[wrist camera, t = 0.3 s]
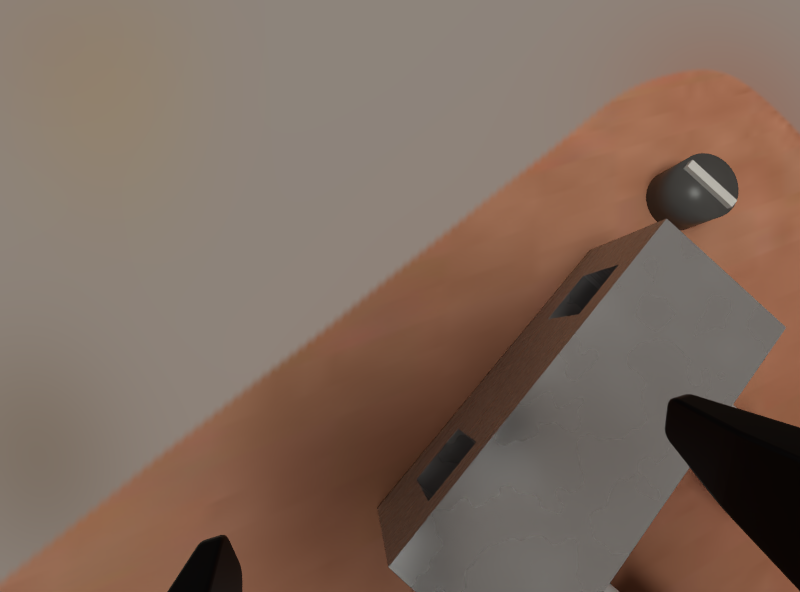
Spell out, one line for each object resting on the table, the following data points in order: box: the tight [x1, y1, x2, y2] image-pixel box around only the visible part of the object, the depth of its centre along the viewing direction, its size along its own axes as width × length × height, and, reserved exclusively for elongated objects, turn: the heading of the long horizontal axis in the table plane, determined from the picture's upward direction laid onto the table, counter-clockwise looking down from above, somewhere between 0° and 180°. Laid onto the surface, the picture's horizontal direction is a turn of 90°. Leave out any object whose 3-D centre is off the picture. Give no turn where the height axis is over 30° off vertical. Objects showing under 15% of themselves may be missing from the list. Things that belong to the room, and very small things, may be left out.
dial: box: [646, 153, 738, 230], centre depth 24 cm, size 4×4×3 cm
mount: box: [377, 219, 786, 592], centre depth 20 cm, size 7×18×6 cm, turn 138°
